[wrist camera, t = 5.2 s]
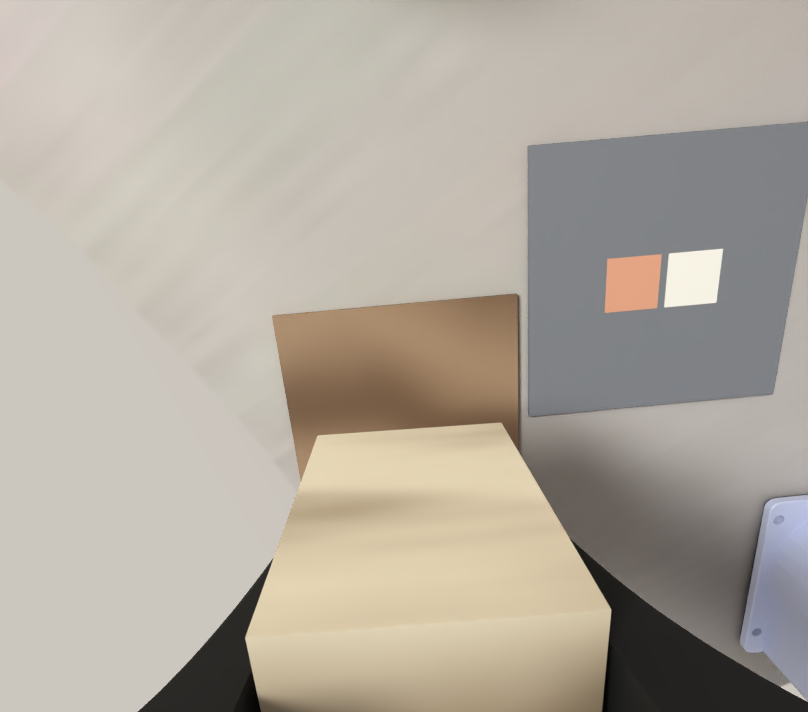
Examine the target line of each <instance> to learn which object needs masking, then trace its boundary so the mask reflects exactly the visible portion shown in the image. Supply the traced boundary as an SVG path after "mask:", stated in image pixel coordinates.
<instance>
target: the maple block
mask: <svg viewBox="0 0 808 712" xmlns="http://www.w3.org/2000/svg"><path fill="white" fill-rule="evenodd" d="M610 620H611V608H610V606H609V605H608V603H607V601H606V600H605V598H604V596H603V594H602V593H601V591H600V589H599V588H598V586H597V584H596V583H595V581H594V579H593V577H592V576H591V574H590V572H589V571H588V569H587V567H586V566H585V564H584V562H583V560H582V559H581V557H580V555H579V554H578V552H577V550H576V549H575V547H574V545H573V543H572V542H571V540H570V538H569V537H568V535H567V533H566V532H565V530H564V528H563V526H562V525H561V523H560V521H559V520H558V518H557V516H556V515H555V513H554V511H553V510H552V508H551V506H550V504H549V503H548V501H547V499H546V498H545V496H544V494H543V493H542V491H541V489H540V487H539V486H538V484H537V482H536V481H535V479H534V477H533V476H532V474H531V472H530V470H529V469H528V467H527V465H526V464H525V462H524V460H523V459H522V457H521V455H520V453H519V452H518V450H517V448H516V447H515V445H514V443H513V442H512V440H511V438H510V436H509V435H508V433H507V431H506V430H505V428H504V426H503V425H502V423H487V424H473V425H459V426H445V427H431V428H416V429H402V430H388V431H374V432H360V433H345V434H331V435H318V436H317V438H316V441H315V444H314V447H313V450H312V452H311V455H310V458H309V461H308V463H307V466H306V469H305V472H304V475H303V477H302V480H301V483H300V486H299V489H298V491H297V494H296V497H295V500H294V503H293V506H292V508H291V511H290V514H289V517H288V519H287V522H286V525H285V528H284V531H283V533H282V536H281V539H280V542H279V545H278V547H277V550H276V553H275V556H274V558H273V561H272V564H271V567H270V570H269V572H268V575H267V578H266V581H265V584H264V586H263V589H262V592H261V595H260V598H259V600H258V603H257V606H256V609H255V611H254V614H253V617H252V620H251V623H250V625H249V628H248V631H247V634H246V637H245V640H246V644H247V649H248V654H249V658H250V663H251V668H252V672H253V677H254V682H255V686H256V691H257V696H258V700H259V705H260V710H261V712H602V706H603V695H604V684H605V673H606V663H607V652H608V641H609V631H610Z"/></svg>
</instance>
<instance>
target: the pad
mask: <svg viewBox="0 0 808 712" xmlns="http://www.w3.org/2000/svg"><path fill="white" fill-rule="evenodd" d="M272 319H273V324H274V330H275V336H276V341H277V347H278V353H279V359H280V364H281V370H282V376H283V381H284V387H285V393H286V399H287V404H288V410H289V416H290V421H291V427H292V433H293V439H294V444H295V450H296V456H297V462H298V467H299V473H300V479H301V480H302V477H303V475H304V472H305V469H306V466H307V463H308V461H309V458H310V455H311V452H312V450H313V447H314V444H315V441H316V438H317V436H318V435H331V434H345V433H360V432H374V431H388V430H402V429H416V428H431V427H445V426H459V425H473V424H487V423H502V425H503V426H504V428H505V430H506V431H507V433H508V435H509V436H510V438H511V440H512V442H513V443H514V445H515V447H516V448H517V450H518V452H519V428H518V307H517V294H507V295H496V296H485V297H473V298H462V299H451V300H440V301H429V302H418V303H407V304H396V305H384V306H373V307H362V308H351V309H340V310H329V311H318V312H307V313H296V314H284V315H273V316H272Z"/></svg>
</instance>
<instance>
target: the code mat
mask: <svg viewBox="0 0 808 712" xmlns="http://www.w3.org/2000/svg"><path fill="white" fill-rule="evenodd" d="M807 197H808V122H799V123H788V124H776V125H764V126H752V127H741V128H729V129H717V130H706V131H694V132H682V133H670V134H659V135H647V136H635V137H624V138H612V139H600V140H588V141H577V142H565V143H553V144H542V145H530V146H528V415H529V417H531V416H542V415H552V414H563V413H574V412H584V411H595V410H606V409H616V408H627V407H638V406H648V405H659V404H670V403H680V402H691V401H702V400H712V399H723V398H734V397H744V396H755V395H766V394H773V392H774V386H775V380H776V375H777V369H778V363H779V358H780V352H781V346H782V340H783V335H784V329H785V323H786V317H787V312H788V306H789V300H790V294H791V289H792V283H793V277H794V271H795V266H796V260H797V254H798V249H799V243H800V237H801V231H802V226H803V220H804V214H805V208H806V203H807Z"/></svg>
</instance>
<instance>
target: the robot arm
mask: <svg viewBox="0 0 808 712" xmlns="http://www.w3.org/2000/svg"><path fill="white" fill-rule="evenodd" d="M570 540H571V539H570ZM571 542H572V543H573V545H574V547H575V549H576V550H577V552H578V554H579V555H580V557H581V559H582V560H583V562H584V564H585V566H586V567H587V569H588V571H589V572H590V574H591V576H592V577H593V579H594V581H595V583H596V584H597V586H598V588H599V589H600V591H601V593H602V594H603V596H604V598H605V600H606V601H607V603H608V605H609V606H610V608H611V620H610V631H609V641H608V652H607V663H606V673H605V684H604V695H603V706H602V712H808V702H806V701H805V700H803V699H801V698H799V697H797V696H795V695H793V694H791V693H790V692H788V691H786V690H784V689H782V688H781V687H779V686H777V685H775V684H773V683H772V682H770V681H768V680H766V679H764V678H763V677H761V676H759V675H758V674H756V673H754V672H752V671H751V670H749V669H747V668H746V667H744V666H742V665H741V664H739V663H737V662H736V661H734V660H732V659H731V658H729V657H727V656H726V655H724V654H722V653H721V652H719V651H717V650H716V649H714V648H713V647H711V646H709V645H708V644H706V643H705V642H703V641H702V640H700V639H698V638H697V637H695V636H694V635H693V634H691V633H690V632H688V631H687V630H685V629H684V628H682V627H681V626H679V625H678V624H676V623H675V622H673V621H672V620H670V619H669V618H667V617H666V616H664V615H663V614H662V613H660V612H659V611H658V610H656V609H655V608H653V607H652V606H651V605H649V604H648V603H647V602H645V601H644V600H643V599H641V598H640V597H639V596H637V595H636V594H635V593H634V592H632V591H631V590H630V589H628V588H627V587H626V586H625V585H623V584H622V583H621V582H620V581H618V580H617V579H616V578H615V577H613V576H612V575H611V574H610V573H609V572H608V571H606V570H605V569H604V568H603V567H602V566H601V565H599V564H598V563H597V562H596V561H595V560H593V559H592V558H591V557H590V556H589V555H588V554H587V553H585V552H584V551H583V550H582V549H581V548H580V547H579V546H578V545H577V544H575V543H574V542H573V541H572V540H571ZM272 561H273V559H272V560H271V562H270V563H269V565H268V566H267V567H266V569H265V570H264V572H263V573H262V574H261V575H260V577H259V578H258V579H257V581H256V582H255V583H254V585H253V586H252V587H251V588H250V590H249V591H248V592H247V594H246V595H245V596H244V597H243V599H242V600H241V601H240V603H239V604H238V605H237V606H236V608H235V609H234V610H233V611H232V613H231V614H230V615H229V616H228V617H227V619H226V620H225V621H224V622H223V623H222V624H221V626H220V627H219V628H218V629H217V630H216V632H215V633H214V634H213V635H212V636H211V637H210V638H209V640H208V641H207V642H206V643H205V644H204V645H203V647H202V648H201V649H200V650H199V651H198V652H197V653H196V654H195V655H194V656H193V658H192V659H191V660H190V661H189V662H188V663H187V664H186V665H185V666H184V667H183V668H182V669H181V670H180V671H179V672H178V673H177V674H176V675H175V677H173V679H172V680H171V681H170V682H169V683H168V684H167V685H166V686H165V687H164V688H163V689H162V690H161V691H160V692H159V693H158V694H157V695H156V696H155V697H153V698H152V699H151V700H150V701H149V702H148V703H147V704H146V705H145V706H144V707H143V708H142V709H140V710H139V711H138V712H261V710H260V705H259V700H258V696H257V691H256V686H255V682H254V677H253V672H252V668H251V663H250V658H249V654H248V649H247V644H246V640H245V637H246V634H247V631H248V628H249V625H250V623H251V620H252V617H253V614H254V611H255V609H256V606H257V603H258V600H259V598H260V595H261V592H262V589H263V586H264V584H265V581H266V578H267V575H268V572H269V570H270V567H271V564H272ZM740 645H741V646H742V647H743V648H744V650H745V651H746V652H749V653H757V652H764V653H765V654H766V655H767V656H768V657H769V659H770V660H771V661H772V662H773V663H774V664H775V665H776V666H777V668H778V669H779V670H780V671H781V672H782V673H783V674H784V675H785V676H786V678H787V679H788V680H789V681H790V682H791V683H792V684H793V685H794V686H795V688H796V689H797V690H798V691H799V692H800V693H801V694H802V695H803V697H804V698H805V699H806V700H807V701H808V495H802V496H792V497H781V498H774V499H771V500H769V501H768V502H767V503H766V504H765V507H764V512H763V517H762V523H761V528H760V534H759V539H758V544H757V550H756V555H755V561H754V566H753V572H752V577H751V583H750V588H749V594H748V599H747V605H746V610H745V616H744V621H743V627H742V632H741V637H740Z"/></svg>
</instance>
